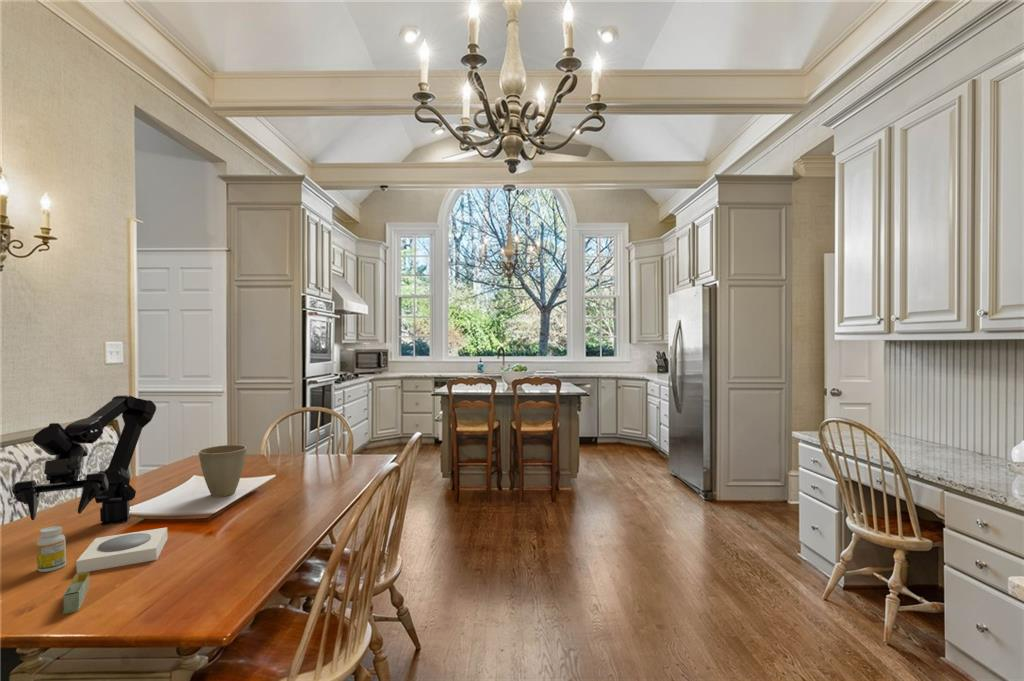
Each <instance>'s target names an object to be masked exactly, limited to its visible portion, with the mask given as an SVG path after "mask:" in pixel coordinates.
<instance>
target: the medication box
mask: <svg viewBox="0 0 1024 681" xmlns="http://www.w3.org/2000/svg"><path fill="white" fill-rule="evenodd" d="M90 581H91V580H90V571H89V572H83V573H76V574H74V576H73V578H72V580H71V582H70V583H69V585H68V587H67V588H66V589H65V591H64V594H63V595H62V596H63V597H62V607H61V608H62V609H61V610H62V613H61V614H62V615H66V614H71V613H76V612H79V609H80V607H81V606H82V604H83V602H84V600H85V597H86V595H87V593H88V591H89V588H90Z"/></svg>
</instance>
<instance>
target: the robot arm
mask: <svg viewBox="0 0 1024 681" xmlns="http://www.w3.org/2000/svg"><path fill="white" fill-rule="evenodd" d="M156 411H157V405H156V404H155V403H154V402H153V401H152V400H150V399H142V398H138V397H135V396H133V395H130V394H127V395H116V396H114V397H112V399H111V400H110V401H108V402H107V403H105V405H103V406H102V407H100V408H99V409H98V410H96V411H95V412H94V413H92V414H91V415H90V416H87V417H86V418H82V419H79V420H75V421H74V422H71V423H69V424H68V425H67V426H66V427H65V428H63V426H62V425H61V424H60V423H58V422H51V423H49V424H48V426H47V427H44V428H41V430H39V431H38V432H36V433H35V434H34V435H33V437H32V442H33V443H34V445H36V446H37V447H39V449H41V450H42V451H44V453H46V454H47V455H49V456H55V458H54V459H53V460H52V459H51V460H46V461H45V462H44V472H43V474H44V475H46V477H45V479H46V481H47V482H48V483H42V484H37V482H36V480H35V479H33V480H24V481H17V482H15V484H13V486H12V488H11V493H12V494H13V496H14V498H15V499H16V501H17V502H18V503H23V505H27V507H28V512H29V516H30V517H29V518H30V519H31V521H35V519H36V516H37V512H38V507H39V504H40V501H39V498H40V494H41V493H49V492H57V491H70V490H78V489H82V493H81V496H80V500H79V503H78V507H77V514H78V515H80V514H81V513H83V511H84V510H85V509H86V507H87V506H88V505H89V503H91V502H92V501H93V500H95V503H96V504H101V508H100V509H99V516H100V518H99V519H100V522H101V523H100V525H101V526H107V525H112V524H113V525H114V524H120V523H121V524H122V523H125V522H128V521H129V520H130V518H131V517H132V516H131V515H129V511H130V512H131V510H130V501H132V500H133V499H135V497H136V493H137V491H136V489H135V488H133V486H131V485H130V482H131V479H130V475H129V472H128V470H129V467H130V464H131V461H132V458H133V455H134V452H135V451H136V450H135V449H136V448H137V445H138V442H139V439H140V435H141V434H142V431H143V428H144V427H145V426H147V425H148V424H149V423H150V422H151V421H152V419H153V417H154V415H155V413H156ZM120 416H121V418H122V419H123V423H124V425H123V427H122V430H121V432H120V433H121V434H120V436H119V438H118V441H117V443H116V446H115V449H114V452H113V454H112V457H111V459H110V463H109V464H108V467H107V468H106V469H105V470H100V471H98V472H95V473H88V474H86V476H85V479H81V480H80V479H79V476H80V475H81V467H82V461H83V460H82V459H83V457H87V456H88V455H89V454H88V451H86V450H85V448H84V447H83V446H82V445H84V444H85V445H86V444H94V443H95V442H97V441H98V440H99V438H100V437H101V436H102V435H103V434H104V428H106V426H108V425H109V424H110V423H112V422H113V421H114V420H115V419H117V418H118V417H120Z"/></svg>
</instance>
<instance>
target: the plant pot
mask: <svg viewBox="0 0 1024 681" xmlns="http://www.w3.org/2000/svg"><path fill="white" fill-rule="evenodd" d="M246 453H247V446H245V445H243V444H225V445H217V446H211V447H206V448H201V449H199V450H198V457H199V462H200V468H201V471H202V475H203V478H204V481H205V483H206V486H207V489H208V492H209V493H210V495H211V496H212V497H215V498H216V497H218V498H219V497H229V496H231V495H233V494H235V493H236V491H237V488H238V487H239V486H238V485H239V482H240V479H241V476H242V472H243V468H244V464H245V459H246Z"/></svg>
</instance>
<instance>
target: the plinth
mask: <svg viewBox="0 0 1024 681" xmlns="http://www.w3.org/2000/svg"><path fill="white" fill-rule="evenodd" d="M168 539H169V538H168V527H167V526H166V527H161V528H154V529H147V530H140V531H134V532H128V533H120V534H115V535H114V534H113V535H108V536H102V537H101V536H100V537H96V538H94V540H93V541H92V542H91V543H90V544H89V546H88V547H87V548H86V549H85V550H84V551H83V553H81V555H80V556H79V557H78V559H77V560H76V562H75V563H76V574H80V573H86V572H89V573H90V572H95V571H100V570H106V569H112V568H117V567H118V568H119V567H123V566H129V565H134V564H140V563H147V562H150V561H157V560H158V558H159V556H160V554H161V553H162V550H163V548H164V546H165V544H166V543H167V540H168Z"/></svg>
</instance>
